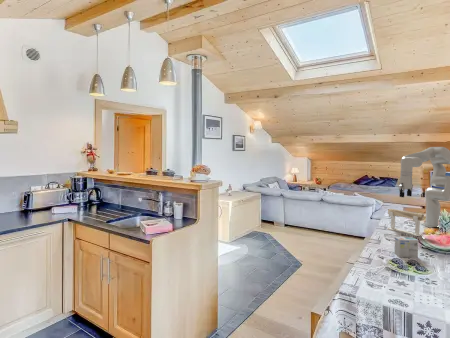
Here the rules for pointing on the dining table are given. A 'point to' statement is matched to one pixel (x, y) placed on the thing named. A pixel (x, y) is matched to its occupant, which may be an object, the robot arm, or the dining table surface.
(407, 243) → the light bulb box
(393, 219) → the rack
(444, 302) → the dining table surface
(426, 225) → the robot arm
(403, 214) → the rail
